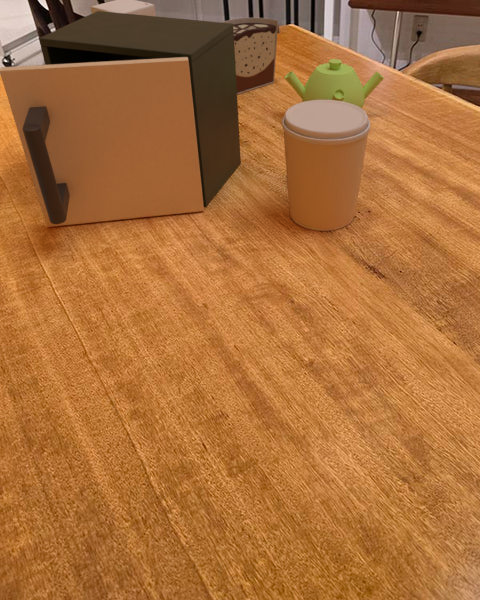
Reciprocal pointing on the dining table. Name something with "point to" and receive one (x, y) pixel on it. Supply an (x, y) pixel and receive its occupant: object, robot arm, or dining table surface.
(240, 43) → the food container
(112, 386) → the dining table surface
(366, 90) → the teapot
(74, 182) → the door
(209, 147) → the cupboard
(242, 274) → the dining table surface
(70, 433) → the dining table surface
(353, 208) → the coffee cup
